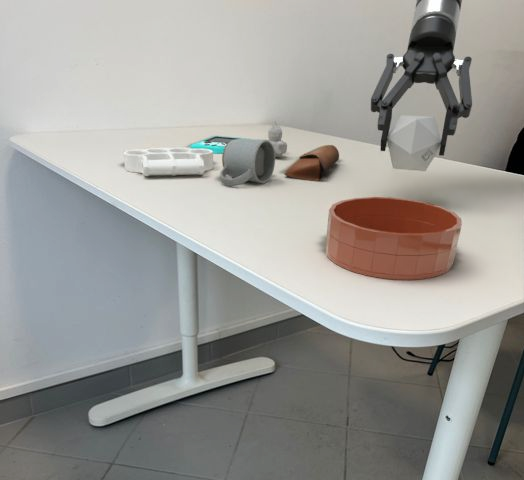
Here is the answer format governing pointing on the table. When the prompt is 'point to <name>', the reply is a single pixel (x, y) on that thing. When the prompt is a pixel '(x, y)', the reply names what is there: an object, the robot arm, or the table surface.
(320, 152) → the sunglasses case
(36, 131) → the table surface
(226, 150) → the ceramic mug
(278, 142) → the grey rounded figure
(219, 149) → the handheld game console
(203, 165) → the white compartment tray
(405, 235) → the bowl
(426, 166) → the die
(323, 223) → the table surface
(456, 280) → the table surface
